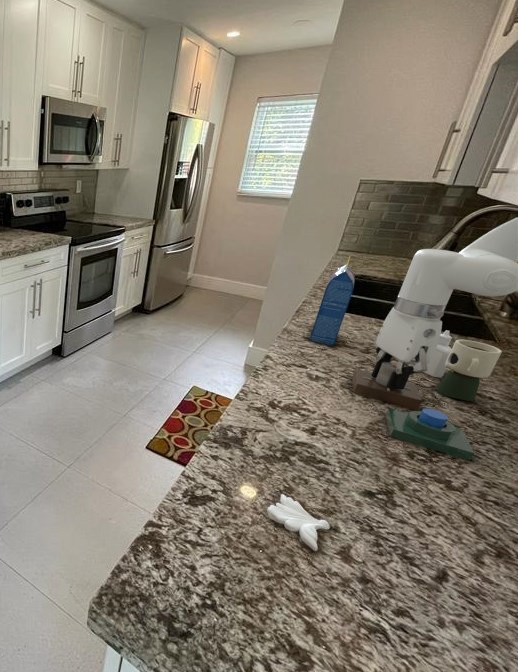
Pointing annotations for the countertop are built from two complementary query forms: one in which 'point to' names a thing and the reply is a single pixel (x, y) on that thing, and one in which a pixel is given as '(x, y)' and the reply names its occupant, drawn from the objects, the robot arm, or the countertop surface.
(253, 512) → the countertop surface
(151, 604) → the countertop surface
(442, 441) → the push cap base
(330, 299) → the blue food package
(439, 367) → the eye dropper bottle
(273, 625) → the countertop surface
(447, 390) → the character mug
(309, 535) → the acanthus leaf ornament
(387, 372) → the dial
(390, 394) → the knob console
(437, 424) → the push cap
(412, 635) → the countertop surface
